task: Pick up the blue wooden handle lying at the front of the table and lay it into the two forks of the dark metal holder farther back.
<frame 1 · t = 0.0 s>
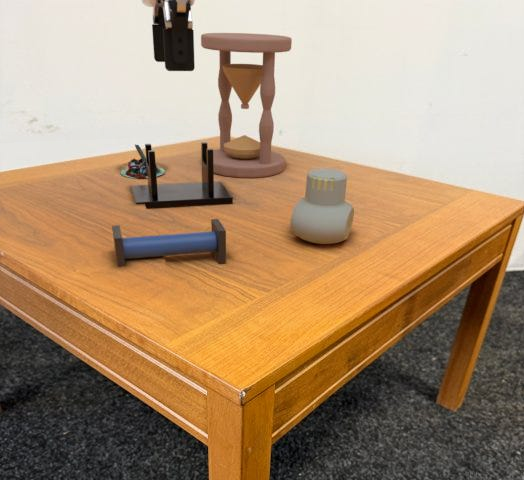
hand: (173, 65, 65), 24 cm above the table, tool pointing down, fingers open, 9 cm apart
dish: (143, 173, 113), on the table
holder: (181, 197, 100), on the table
hourglass: (244, 168, 120), on the table
handle: (170, 261, 76), on the table
air freshener: (320, 239, 86), on the table
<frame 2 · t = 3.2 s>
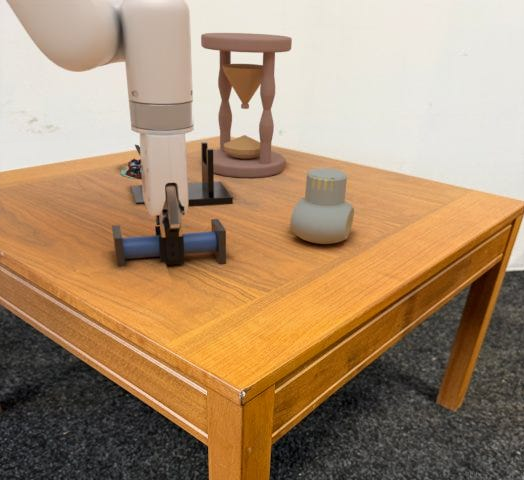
hand: (170, 257, 76), 1 cm above the table, tool pointing down, fingers closed on handle, 2 cm apart
handle: (170, 261, 76), on the table, touching gripper
everything else where it was.
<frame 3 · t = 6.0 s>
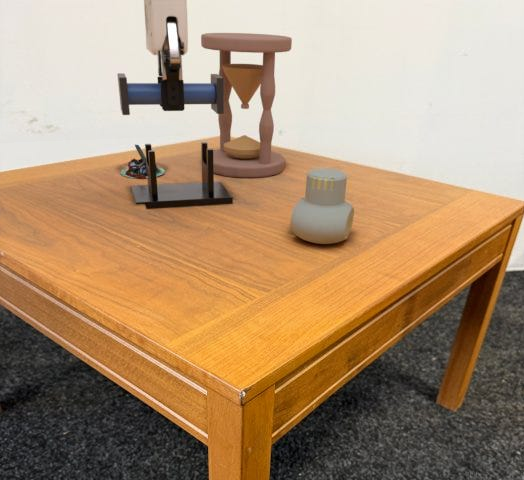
hand: (171, 107, 81), 17 cm above the table, tool pointing down, fingers closed on handle, 2 cm apart
handle: (172, 111, 81), point 17 cm above the table, touching gripper
everything else where it was.
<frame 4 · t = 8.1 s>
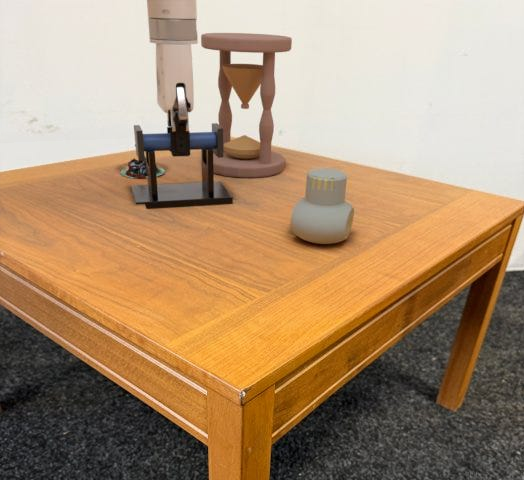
hand: (179, 152, 96), 8 cm above the table, tool pointing down, fingers closed on handle, 2 cm apart
handle: (179, 155, 96), point 7 cm above the table, touching gripper
everything else where it was.
when the fingers open (6 cm above the table, at t = 9.1 s): handle stays where it is, resting on holder.
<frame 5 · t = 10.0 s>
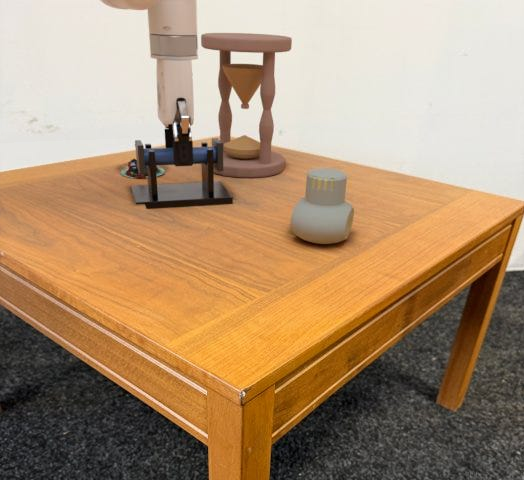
hand: (179, 158, 96), 7 cm above the table, tool pointing down, fingers open, 9 cm apart
handle: (180, 170, 98), point 5 cm above the table, touching holder
everything else where it was.
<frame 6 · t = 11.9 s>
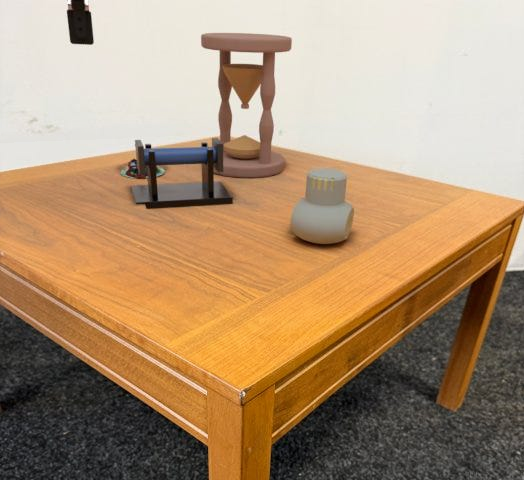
hand: (81, 41, 82), 25 cm above the table, tool pointing down, fingers open, 9 cm apart
nothing on the table moved.
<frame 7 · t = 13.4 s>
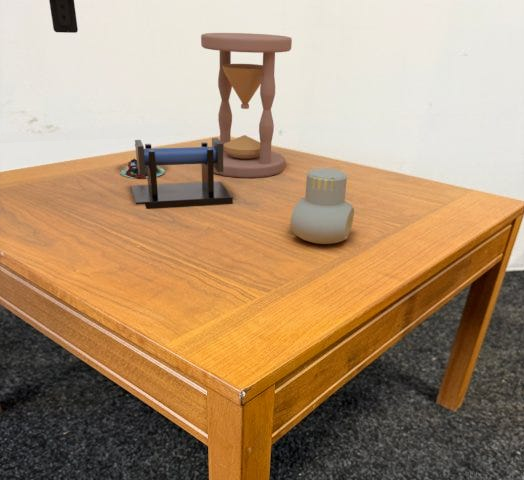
hand: (66, 30, 80), 26 cm above the table, tool pointing down, fingers open, 9 cm apart
nothing on the table moved.
at the end: handle 0.1 cm off-centre on the holder, point 5.0 cm above the holder's base; handle tilted 1°; the gripper is holding nothing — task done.
